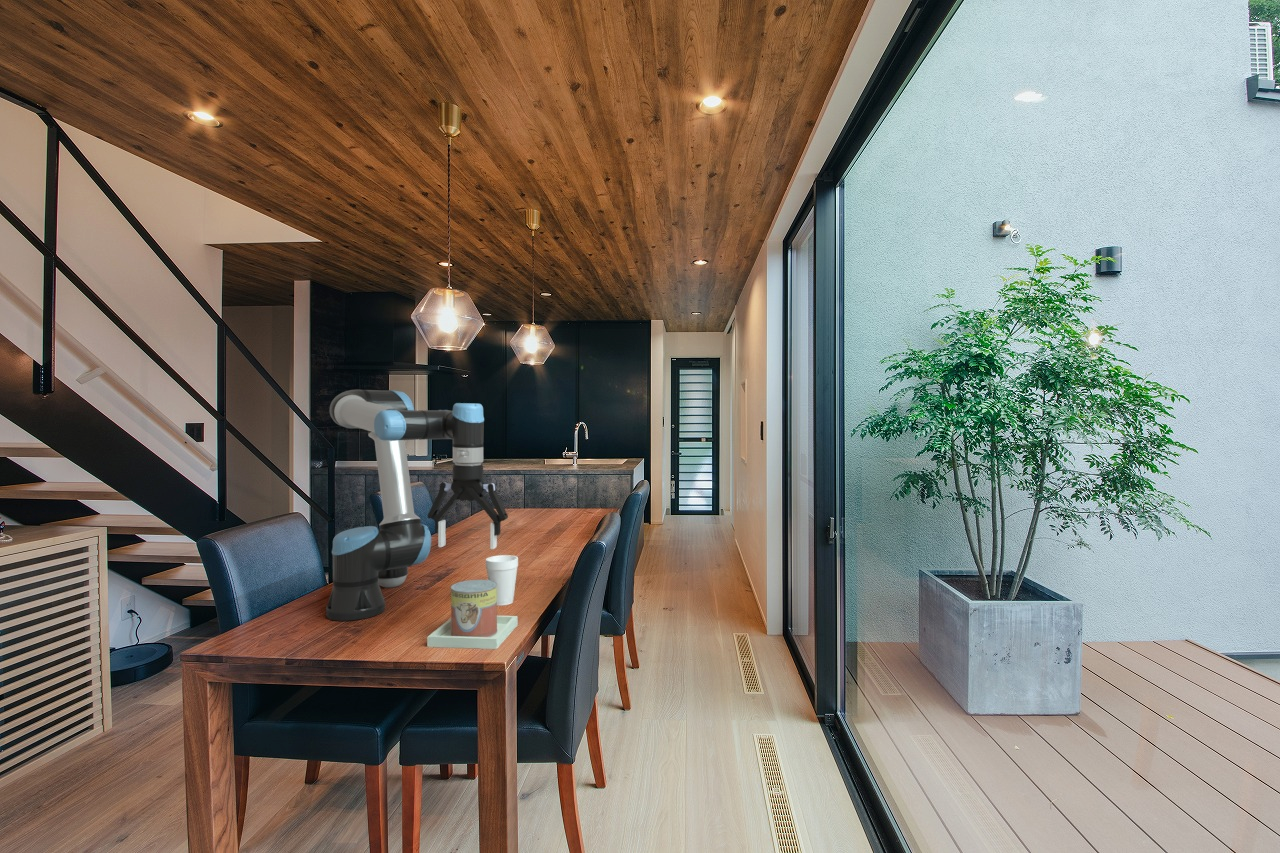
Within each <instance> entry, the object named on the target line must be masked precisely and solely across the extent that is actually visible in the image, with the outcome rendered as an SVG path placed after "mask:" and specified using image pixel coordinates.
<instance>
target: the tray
mask: <svg viewBox="0 0 1280 853" xmlns="http://www.w3.org/2000/svg"><path fill="white" fill-rule="evenodd" d="M518 619H519V618H518V615H497V633H496V634H495V635H494V636H492V637H464V636H451V617H450V618H449V619H447V620H446V621H445V622H444V623H443V624H441V625H440V626H438V627H437V629H435V630H434V631H432V632H431V633H430V634H429V635H428V636H427V639H426V640H427V642H426V643H427V644H426V645H427V648H446V649H447V648H450V649H455V648H456V649H479V650H480V649H482V650H483V649H484V650H497V649H498V648H499V647H500V646H501V645H502V644H503V642H504V641H505V640H506V639H507V638H508V637H509V636H510V634H511V633H512V632H513V631H514V630H515V629H516V628H517V627H518V625H519V624H518Z"/></svg>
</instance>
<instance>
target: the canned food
mask: <svg viewBox="0 0 1280 853" xmlns="http://www.w3.org/2000/svg"><path fill="white" fill-rule="evenodd" d="M450 600H451V601H450V615H451V617H450V618H451V636H464V637H492V636H494V635H495V634H496V633H497V616H498V605H497V583H496V582H494V581H490V580H488V579H470V580H469V579H468V580H461V581H458V582H456V583H454V584H452V585H451V586H450Z"/></svg>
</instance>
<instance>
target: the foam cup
mask: <svg viewBox="0 0 1280 853" xmlns="http://www.w3.org/2000/svg"><path fill="white" fill-rule="evenodd" d="M518 567H519V557H518V556H517V555H509V554H501V555H493V556H489V557H487V558H485V569H486V574H487V580H490V581H494V582H496V583H497V606H508V605H510V604H513V603H514V598H515V588H516V581H517V573H518Z"/></svg>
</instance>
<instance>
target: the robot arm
mask: <svg viewBox="0 0 1280 853" xmlns="http://www.w3.org/2000/svg"><path fill="white" fill-rule="evenodd" d="M329 416H330V417H331V419H332V420H333V422H334V423H335V424H337V425H338V426H340V427H342V428H343V427H344V428H346V429H362V430H365V431H367V434H368V437H369V438H371V439H372V440H373V441H374V446H375V447H374V448H375V457H376V465H377V471H378V472H377V473H378V481H379V488H380V495H381V496H380V497H381V505H382V513H383V514H382V515H383V518H382V521H380V523H379V524H378V525H379V526H378V527H379V529H378V527H377V526H372V525H369V526H368V525H367V526H359V527H354V528H349V529H346V530H343V531H341V532H338V533H337V534H336V535H335V536H334V538H333V540H332V548H331V555H332V590H331V593H330V596H329V597H328V598H329V599H328V601H327V604H326V608H325V609H326V610H325V616H326V618H327V619H329V620H331V621H338V622H339V621H341V622H342V621H343V622H345V621H346V622H347V621H357V620H364V619H367V618H368V619H369V618H372V617H375V616H377V615H380V614H382V613H383V612H385V610H386V599H385V597H384V595H383V591H382V589H381V586H380V585H379V583H378V572H379V571H385V570H390V569H396V568H401V567H408V568H409V567H412V566H415V565H420V564H422V563H424V562H425V560H426V559H427V558H428V557H429V554H430V551H431V547H432V535H431V532H430V530H429V527H428V526H427V525H425V524H423V523H422V520H421V517H419V516H418V515H416V513H415V509H414V508H415V507H414V500H413V493H412V485H411V484H412V483H411V478H410V471H409V462H408V455H407V454H408V453H407V447H406V441H410V440H411V441H413V440H414V441H415V440H419V441H421V440H452V463H454V464H453V466H452V482H448V481H443V482H441V483H440V484H439V490H438V492H437V495H436V498H434V499H435V500H434V501H433V503H432V505H431V507H430V510H429V512H428V514H427V518H428V519H430V520H433V521H434V532H435V534H438V535H437V536H438V537H437V538H438V540H437V543H438V544H437V545H438V546H437V547H438V548H442V547H443V548H444V546H446V537H447V536H446V530H447V529H446V524H447V523H446V522H447V521H446V519H444V517H445V516H446V515H447V514H448V513H449V511H450V510H451V509H452V508H453V507H454V505H455V504H456V503H457V502H458V501H461V502H464V501H465V502H466V501H468V502H473V501H475V502H476V503H477V504H478V505H479V506H481V507H480V508H482V509H483V510H484V511H485V513H486V514H487V516H488V517H489V519H490V520H491V521H492V522H490V527H489V528H490V529H489V530H490V531H489V533H490V538H489V540H490V545H489V546H490V547H489V548H490V550H495V549H496V548H497V547H498V546H497V545H498V540H497V539H498V536H499V535H501V525H502V524H501V523H502V522H503V521H505V520H507V519H508V518H509V516H508V513H507V511H506V509H505V507H504V505H503V502H502V501H501V498H500V497H499V494H498V491H497V488H496V487H497V486H496V483H494V482H492V483H488V484H485V482H484V465H483V464H482V463H483V462H484V434H485V433H484V427H485V425H484V424H485V423H484V422H485V417H484V407H483V405H482V404H481V403H470V402H469V403H467V402H466V403H465V402H463V403H461V402H456V403H454V404H453V406H452V410H448V409H438V410H436V409H435V410H433V409H431V410H430V409H429V410H427V409H426V410H424V409H422V410H415V408H414V404H413V402H412V400H411V398H410V397H409V395H407V394H406V393H405V392H404V391H401V390H400V391H399V390H398V391H397V390H392V389H389V390H382V389H381V390H378V389H374V390H373V389H350V390H345V391H343V392H341V393H339V394H338V395H336V396H335V397H334V398H333V399H332V401H331V402H330V405H329ZM450 490H452V492H453V494H452V495H451V497H450V499H449V500H448V501H447V502H446V504H444V506H443V507H442V508H441V506H442V504H443V503H444V502H443V501H444V499H445V498H446V496H447V494H448V492H449V491H450ZM484 490H485V491H486V492H487V493H488V495H489V498H490V500H491V502H492V504H493V506H494V508H493V506H492V505H491V504H490V503H489V501H488V500H487V498H486V496H485V495H484V494H483V492H484ZM440 508H441V509H440ZM439 510H440V511H439Z"/></svg>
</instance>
